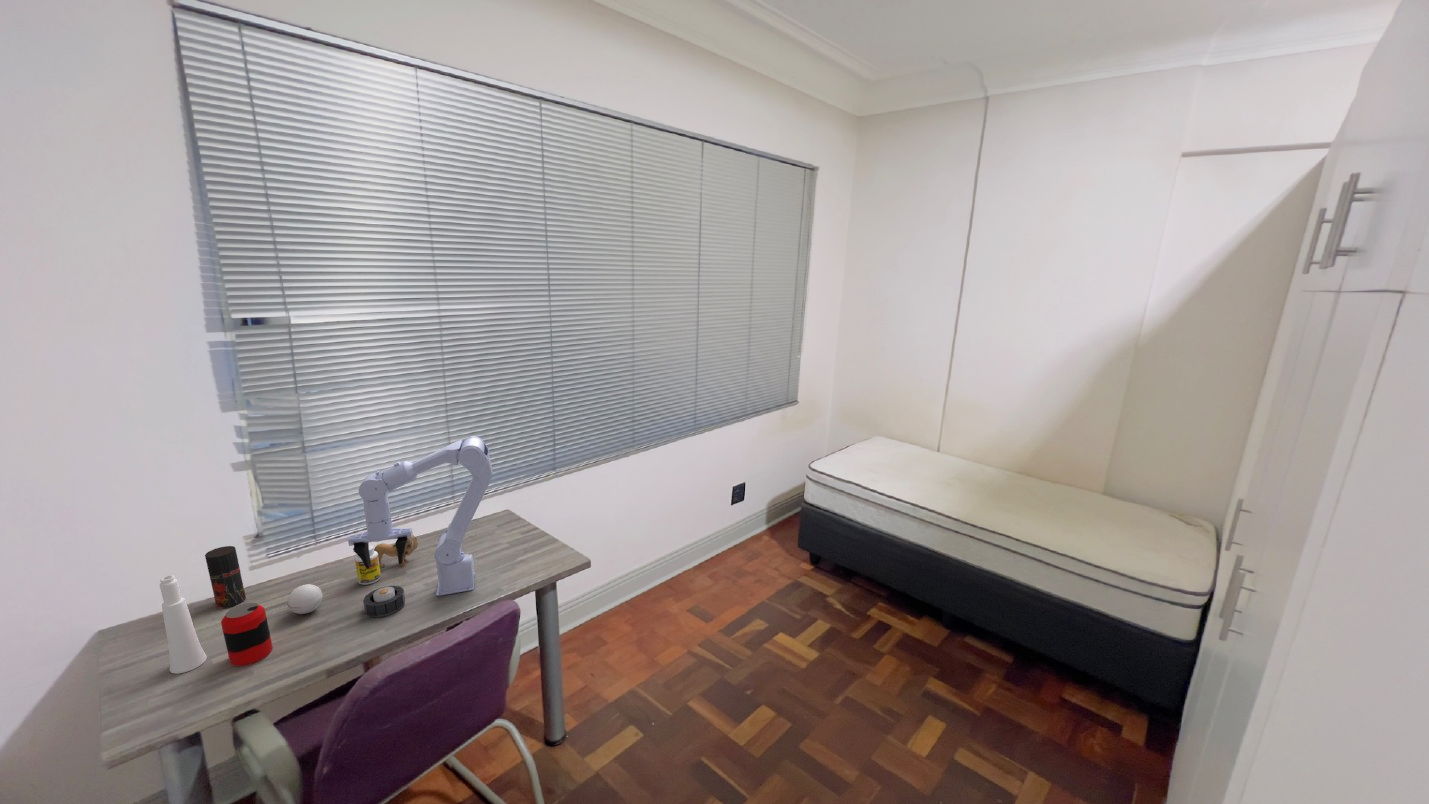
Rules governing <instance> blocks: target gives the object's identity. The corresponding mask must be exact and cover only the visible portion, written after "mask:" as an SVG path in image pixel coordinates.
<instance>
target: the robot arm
mask: <svg viewBox="0 0 1429 804" xmlns="http://www.w3.org/2000/svg"><path fill="white" fill-rule="evenodd" d="M446 463H447V464H451V465H454V466H458V465H459V464H461V466H462V467H464V468H465V469H466V470H468V471H469V472H470V473H469V474H470V475H471V476H472V478H471V479H470V482H469V484H468V487H467V488H466V491H465V492H464V495H463V497H462V499H461V501H460V503H459V505H458V506H457V509H456V511H455V514H454V516H453V517H452V520H451V522H450V523H449V524H448V527H447V528H446V529H445V530H444V531H443V532H442V533H441V534H440V535H439V537H438V541H437V542H438V543H437V545H436V549H435V552H434V559H435V563H436V571H437V580H438V585H437V588H436V593H435V596H437V597H439V596H445V595H451V594H457V593H461V592H469V591H473V590H474V588H475V582H476V581H475V580H476V572H475V565H474V564H475V563H474V556H473V554H467V553H466V554H465V552H464V550H463V549H462V544H463V541H464V538H465V535H466V533H467V531H468V529H469V526H470V524H471V522H472V520H473V518H474V516H475V514H476V511H477V510H478V508H479V506H480V503H481V502H482V499H483V497H484V495H485V492H487V489H488V486H489V485H490V482H491V481H492V479H493V474H494V470H493V466H492V461H491V456H490V451H489V447H488V446H487V443H486V442H485V441H484V440H483V439H482V438H481V437H479V436H475V435H472V436H467V437H465V438H464V439H459V440H457V441H455V442H453V443H450V444H449V445H446V446H444V447H442V448H440V449H438V450H436V451H433V452H431V453H430V454H428V455H426V456H424V457H422V458H420V459H418V460H416V461H414V462H413V461H412V462H411V461H407V460H405V461H402V462H401V461H400V460H398V461H396V462H394V464H393V466H390V467H388V468H386V469H383V470H382V471H381V470H377V471H375V473H371V474H368V475H366V477H364V479H363V481H362V482H361V483H360V485H359V487H358V495H359V497H360V498H362V502H363V511H364V518H365V524H366V530H367V531H366V532H363V533H359V534H356V535H355V534H354V535H350V536H349V538H348V539H347V542H348V546H349V547H350V546H353V548H352V550H353V553H355V554H356V556H357V555H358V556H359V557H360V558H361V560H362V561H363V563H364V565H365V567H366V569H369V568H370V566H371V560H370V555H369V545H370V544H369V543H373V542H375V543H378V542H383V541H388V540H389V541H390V540H395V544H394V545H396V548H397V553H398V556H397V561H398V565H401V564H402V562H403V554H404V549H405V545H406V542H407V539H408V538H411V537H412V535H414V534H413V528H412V527H411V528H394V527H393V521H392V515H391V507H390V501H389V494H388V492H392V491H394V490H396V489H399V488H401V487H403V486H405V485H408V484H410V483H412V482H415V481H416V480H417V479H416V478H417V477H418V474H421V473H423V472H426V471H429V470H431V469H433V468H436V467H439V466H441V465H444V464H446ZM396 539H397V540H396Z"/></svg>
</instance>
